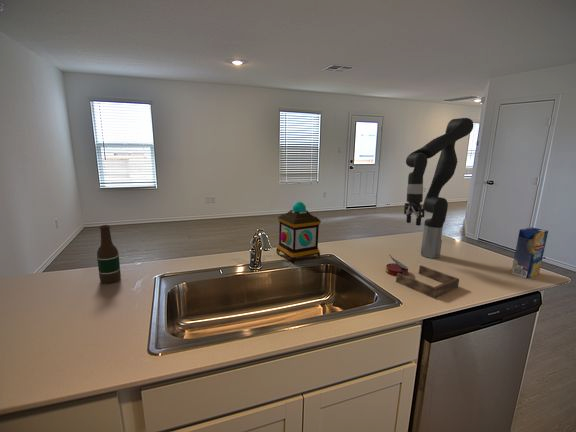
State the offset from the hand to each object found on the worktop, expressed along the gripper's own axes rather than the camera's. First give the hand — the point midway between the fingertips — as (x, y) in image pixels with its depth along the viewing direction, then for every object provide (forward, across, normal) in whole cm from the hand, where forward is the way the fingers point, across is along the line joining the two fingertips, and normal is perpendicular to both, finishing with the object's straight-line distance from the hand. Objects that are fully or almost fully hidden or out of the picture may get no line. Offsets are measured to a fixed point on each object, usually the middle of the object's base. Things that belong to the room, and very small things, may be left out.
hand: (413, 224), depth 157 cm
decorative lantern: (+18, +15, +58) cm, 63 cm away
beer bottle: (+18, -5, +144) cm, 145 cm away
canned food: (+21, -13, +16) cm, 30 cm away
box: (+22, -27, +10) cm, 36 cm away
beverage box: (+23, -22, -47) cm, 56 cm away
